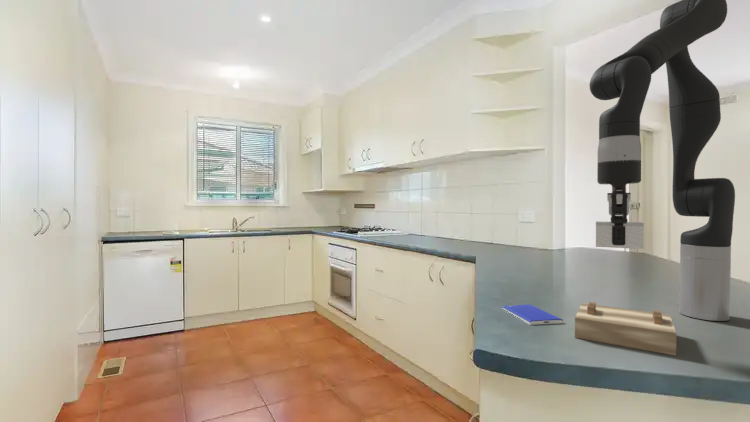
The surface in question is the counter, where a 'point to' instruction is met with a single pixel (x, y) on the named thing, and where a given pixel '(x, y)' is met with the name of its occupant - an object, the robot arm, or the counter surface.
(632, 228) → the panel
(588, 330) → the drive stand
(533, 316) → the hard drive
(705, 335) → the counter surface
